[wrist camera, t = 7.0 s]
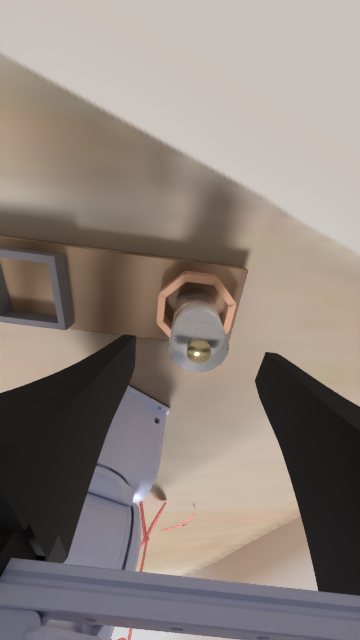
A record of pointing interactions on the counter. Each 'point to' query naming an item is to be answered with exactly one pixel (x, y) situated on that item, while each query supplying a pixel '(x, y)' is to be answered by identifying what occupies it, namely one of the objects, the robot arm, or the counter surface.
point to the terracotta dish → (196, 278)
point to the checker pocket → (57, 265)
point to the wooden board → (111, 286)
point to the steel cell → (197, 332)
